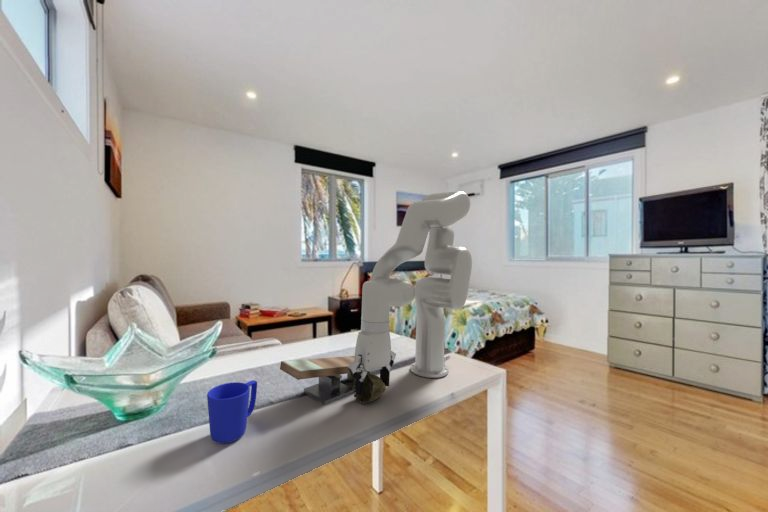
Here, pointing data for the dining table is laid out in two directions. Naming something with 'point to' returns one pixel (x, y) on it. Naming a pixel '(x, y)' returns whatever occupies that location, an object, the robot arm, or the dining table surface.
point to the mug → (230, 410)
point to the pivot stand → (330, 389)
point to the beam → (317, 367)
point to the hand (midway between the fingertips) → (372, 389)
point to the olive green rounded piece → (371, 388)
